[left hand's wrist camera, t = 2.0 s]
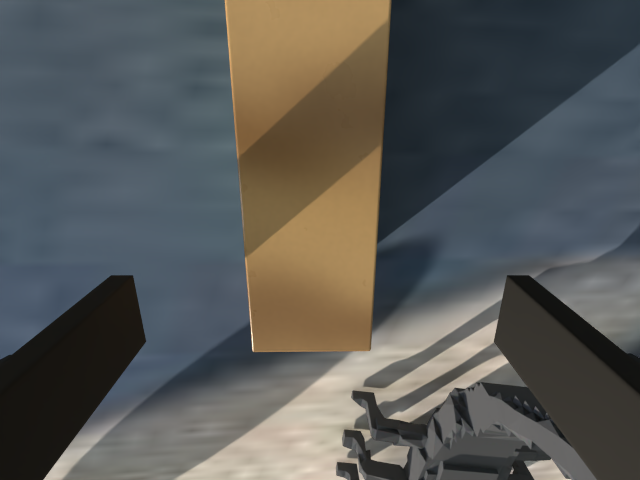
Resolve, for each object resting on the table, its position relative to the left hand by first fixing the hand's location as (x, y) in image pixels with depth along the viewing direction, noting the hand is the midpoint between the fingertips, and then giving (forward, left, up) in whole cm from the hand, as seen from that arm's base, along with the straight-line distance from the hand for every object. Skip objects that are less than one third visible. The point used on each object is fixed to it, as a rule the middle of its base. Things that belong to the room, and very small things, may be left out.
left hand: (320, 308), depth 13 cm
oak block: (0, +11, -8) cm, 14 cm away
